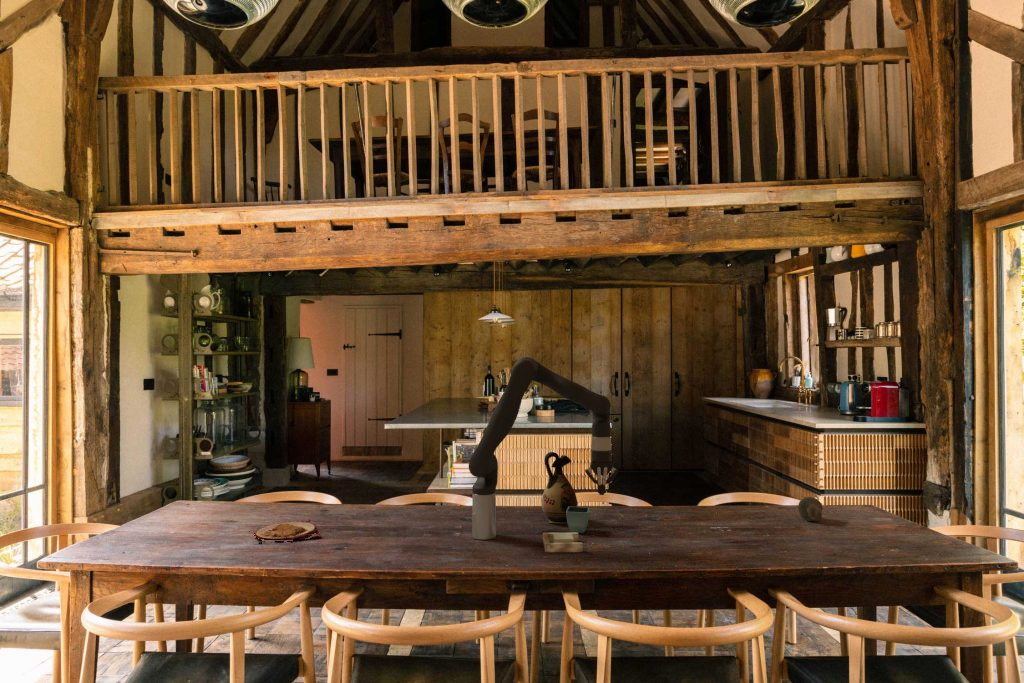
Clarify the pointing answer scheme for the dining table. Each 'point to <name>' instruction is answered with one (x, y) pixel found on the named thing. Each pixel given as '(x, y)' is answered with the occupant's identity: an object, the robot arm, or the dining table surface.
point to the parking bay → (562, 544)
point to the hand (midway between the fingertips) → (601, 494)
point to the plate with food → (287, 531)
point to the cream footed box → (562, 537)
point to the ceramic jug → (557, 491)
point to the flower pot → (577, 518)
